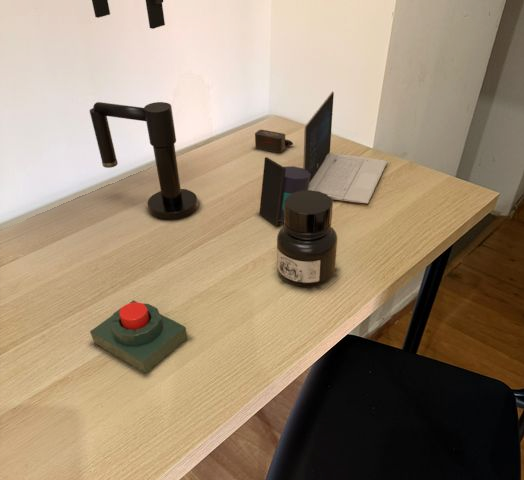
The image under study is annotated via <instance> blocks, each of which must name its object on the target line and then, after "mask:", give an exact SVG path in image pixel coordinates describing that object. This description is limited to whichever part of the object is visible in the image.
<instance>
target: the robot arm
mask: <svg viewBox="0 0 524 480" xmlns="http://www.w3.org/2000/svg"><path fill="white" fill-rule="evenodd" d="M91 3H92V7H93V12H94V17H95V18H98V19H99V18H102V17H106V16H110V15H111V10H110V5H109V0H91ZM163 3H164V0H145V6H146V12H147V18H148V25H149V26H148V27H149V29H152V30H154V29H156V28H161V27H163V26H165V25H166V22H165V15H164V7H163Z"/></svg>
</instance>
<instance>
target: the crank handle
mask: <svg viewBox="0 0 524 480" xmlns="http://www.w3.org/2000/svg"><path fill="white" fill-rule="evenodd" d="M89 115H90V119H91V122H92V126H93V131H94V135H95V139H96V143H97V146H98V147H97V148H98V151H99V155H100V159H101V164H102V167H103V168H106V169H111V168H115V167H117V166H118V164H119V163H118V159H117V156H116V150H115V146H114V142H113V138H112V135H111V134H112V133H111V128H110V125H109V120H108V117H111V118H117V119H118V118H119V119H125V120H134V121H142V122H145V123H146V128H147V134H148V139H149V144H150V145H151V146H152V147H153V146H154V147H168V146H171V145H173V144H174V145H175V144H176V142H177V136H176V130H175V123H174V122H175V121H174V115H173V108H172V105H171V104H170V103H169V102H164V101H156V102H151V103H147V104H146V105H145V106H143V107H141V106H133V105H125V104H117V103H109V102H100V101H97V102H94V104H93V106H92V108H90V109H89Z"/></svg>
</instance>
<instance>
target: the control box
mask: <svg viewBox="0 0 524 480" xmlns="http://www.w3.org/2000/svg"><path fill="white" fill-rule="evenodd" d="M134 302H137V301H136V300H134V299H133V300H132V301H130V302H129V303H134ZM141 303H142V304H144V305H145V306H146V307H147V310H148V315H149V322H148V324H147V325H146V326H144V327H143V328H139V329H136V330H130V329H126V328H125V327H123V325H122V322H121V319H120V315H119V312H120V309H121V308H122V307H120V308H119V309H117V310H116V311H115V312H113V313H112V315H111V316H109V317H107V318H106V319H105V320H104V321H102V322H101V323H100V324H98V325H97V326H95V327H94V328H92V329H91V330H90V331H89V333H90V335H91V338H92V341H93V344H95V345H97V346H99V347H100V348H102V349H103V350H104V351H106V352H109V353H110V354H112V355H114V356H115V357H117V358H118V359H121V360H122V361H124V362H125V363H127V364H129V365H130V366H133V367H134V368H135V369H138V370H139V371H141V372H142V373H144V374H148V372H149V371H151V370H152V369H153V368H154V367H156V365H158V364H159V363H160V362H162V361H163V360H164V359H165V358H166V357H168V356H169V355H170V354H171V353H172V352H173V351H175V350H176V349H177V348H178V347H179V346H180V345H181V344H183V343H184V342H186V340H188V333H187V327H186V326H185V325H183V324H181V323H179V322H177V321H176V320H173V319H171V318H169V317H167V316H166V315H163V314H161V313H160V311H159V309H158V308H157V307H156V306H154V305H152V304H149V303H145V302H144V303H143V302H141Z"/></svg>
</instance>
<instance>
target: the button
mask: <svg viewBox="0 0 524 480" xmlns="http://www.w3.org/2000/svg"><path fill="white" fill-rule="evenodd" d="M142 303H143V302H138V301H136V302H134V303H130V302H128V303H126V304H124V305H123V306H122V307H120V308H121V309H120V308H119V309H120V312H119V315H120V319H121V322H122V325H123V327H125V328H126V329H130V330H136V329H139V328H143V327H144V326H146V325H147V324H148V322H149V315H148V310H147V307H146V306H145V305H144V304H145V303H144V304H142Z"/></svg>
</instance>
